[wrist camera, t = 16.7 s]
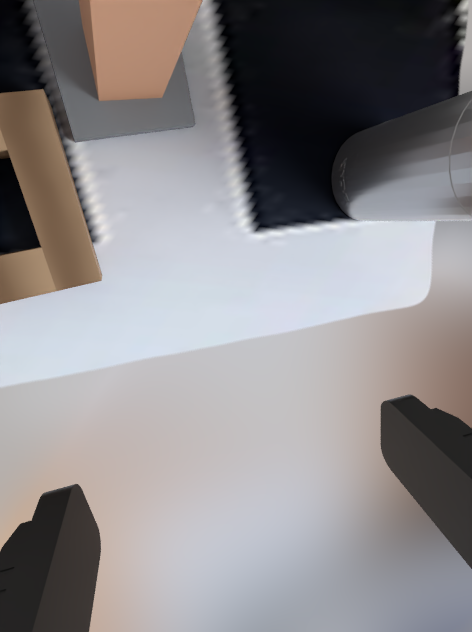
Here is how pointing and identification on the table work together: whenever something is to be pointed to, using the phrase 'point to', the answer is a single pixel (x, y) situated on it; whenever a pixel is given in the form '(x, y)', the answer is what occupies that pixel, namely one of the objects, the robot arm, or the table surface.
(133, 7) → the terracotta block
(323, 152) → the table surface
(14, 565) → the robot arm
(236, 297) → the table surface
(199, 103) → the table surface
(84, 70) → the slate pad
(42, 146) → the walnut pocket block
